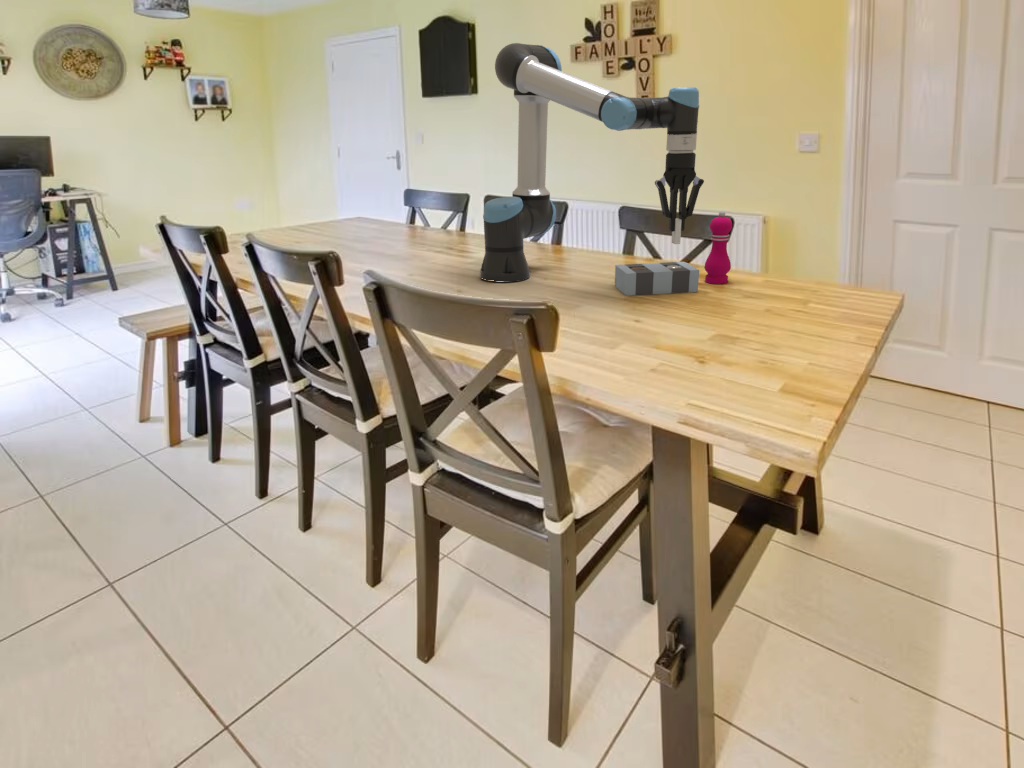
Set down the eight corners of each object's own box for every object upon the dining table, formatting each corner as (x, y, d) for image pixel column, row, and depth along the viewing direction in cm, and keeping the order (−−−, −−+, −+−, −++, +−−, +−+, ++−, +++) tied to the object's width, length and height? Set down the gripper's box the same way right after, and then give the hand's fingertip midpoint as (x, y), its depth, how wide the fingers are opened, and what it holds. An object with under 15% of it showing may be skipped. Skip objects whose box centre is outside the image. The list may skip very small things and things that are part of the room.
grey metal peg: (668, 289, 186) (669, 268, 183) (663, 286, 189) (664, 265, 187) (682, 288, 186) (683, 267, 184) (677, 285, 190) (678, 264, 188)
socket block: (625, 295, 181) (626, 273, 179) (614, 285, 192) (615, 264, 190) (697, 291, 183) (699, 269, 180) (682, 282, 194) (684, 261, 192)
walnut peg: (632, 291, 185) (633, 270, 183) (628, 287, 188) (629, 267, 186) (646, 290, 185) (647, 269, 183) (642, 287, 189) (643, 266, 187)
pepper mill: (730, 284, 189) (737, 212, 182) (704, 284, 191) (709, 212, 183) (728, 279, 196) (734, 209, 189) (702, 278, 197) (707, 209, 190)
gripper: (661, 153, 171) (656, 246, 179) (710, 151, 172) (704, 244, 180) (652, 152, 178) (648, 242, 186) (699, 150, 179) (694, 240, 187)
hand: (675, 243), depth 183 cm, fingers closed
